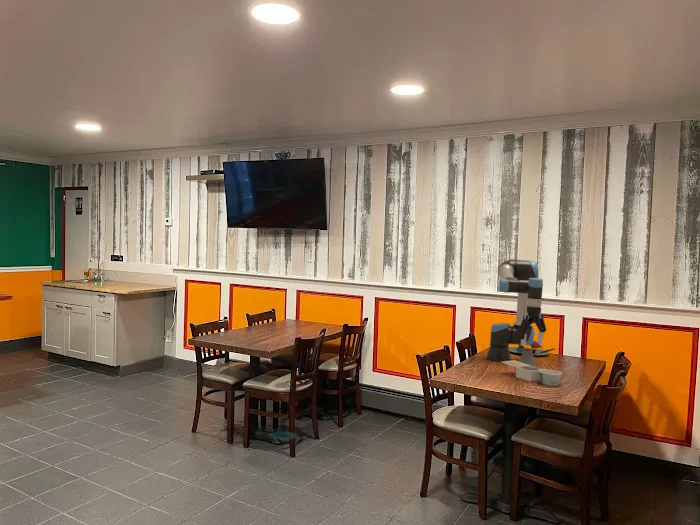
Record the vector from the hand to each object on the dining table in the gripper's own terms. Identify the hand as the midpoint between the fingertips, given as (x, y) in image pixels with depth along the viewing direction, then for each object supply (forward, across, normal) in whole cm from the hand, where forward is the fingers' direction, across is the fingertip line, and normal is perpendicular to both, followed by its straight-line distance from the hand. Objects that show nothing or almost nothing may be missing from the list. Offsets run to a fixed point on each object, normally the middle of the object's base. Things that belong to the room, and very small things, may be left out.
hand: (531, 344), depth 302 cm
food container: (+19, +1, -12) cm, 23 cm away
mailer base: (+19, 0, 0) cm, 19 cm away
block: (+18, 0, 0) cm, 18 cm away
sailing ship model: (+21, +62, +54) cm, 84 cm away
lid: (+12, 0, +10) cm, 16 cm away
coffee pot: (+20, +18, +10) cm, 28 cm away
